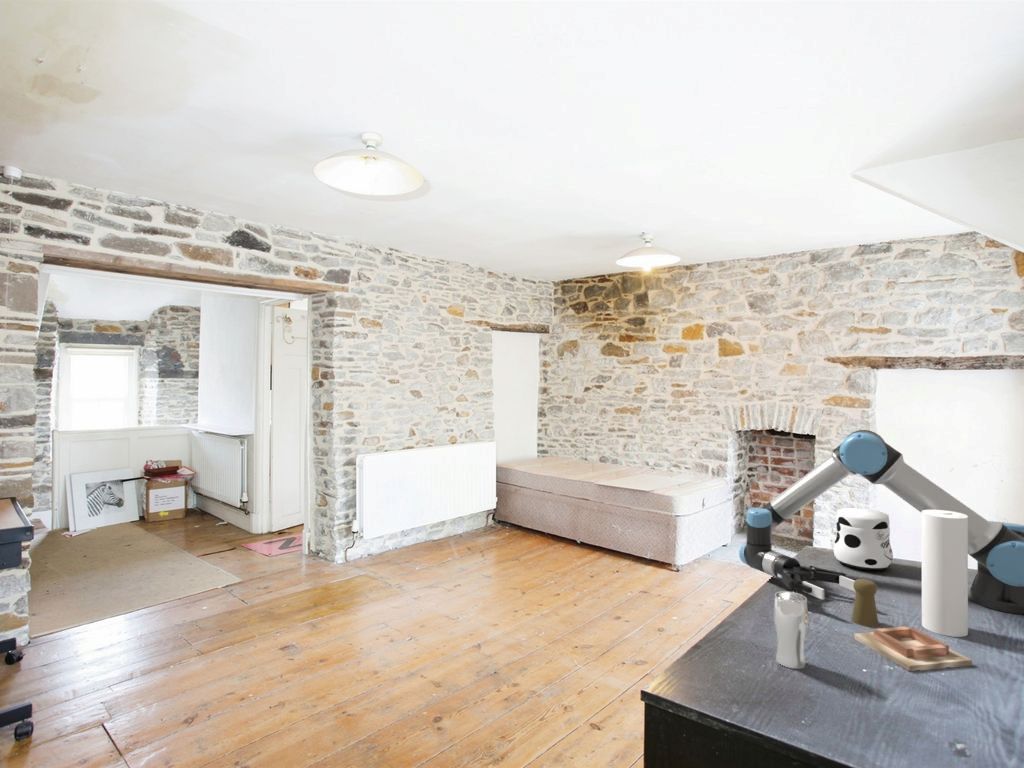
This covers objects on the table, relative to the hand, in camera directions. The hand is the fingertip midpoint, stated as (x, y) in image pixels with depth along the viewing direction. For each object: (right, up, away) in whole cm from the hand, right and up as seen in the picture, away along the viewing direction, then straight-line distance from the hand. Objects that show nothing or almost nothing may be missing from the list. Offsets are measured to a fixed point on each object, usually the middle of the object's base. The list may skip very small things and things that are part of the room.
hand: (842, 591), depth 155 cm
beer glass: (-27, -6, -27) cm, 39 cm away
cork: (+3, -6, -6) cm, 9 cm away
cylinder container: (+20, -6, -10) cm, 23 cm away
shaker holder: (+3, -6, -22) cm, 23 cm away
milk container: (+30, -6, +39) cm, 49 cm away
